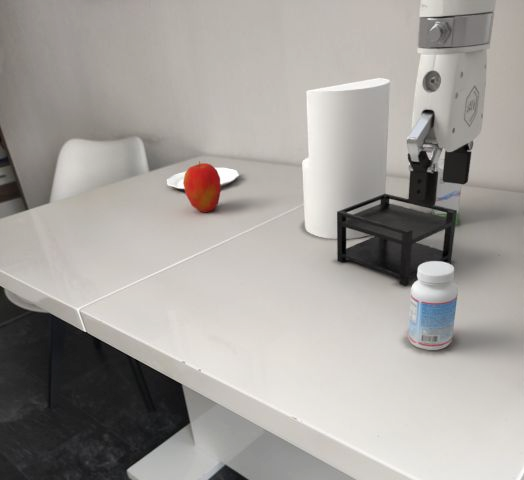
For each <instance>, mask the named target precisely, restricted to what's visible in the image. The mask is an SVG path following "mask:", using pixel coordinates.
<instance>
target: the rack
mask: <svg viewBox="0 0 524 480" xmlns="http://www.w3.org/2000/svg"><path fill="white" fill-rule="evenodd" d="M378 200H381V204H379V205H376V206H374V207H371V208H369V209H366V210H363V211H361V212H358V213H356V214H353V215H352V214H349V213H346V212H349V211H352V210H354V209H357V208H360V207H362V206H365V205H367V204H370V203H373V202H375V201H378ZM390 200H393V201H397V202H402V203H404V204H405V203H406V204H409V205H411V204H410V203H409V202H408V198H406V197H402V196H398V195H392V194H389V193H385V194H383V195H380V196H377V197H375V198H372V199H369V200H367V201H364V202H361V203H359V204H356V205H353V206H351V207H348V208H345V209H343V210H340V211H337V239H336V243H337V244H336V247H337V248H336V249H337V251H336V255H337V257H336V258H337V262H339V263H345V262H347V260H349V261H352V262H355V263H357V264H360V265H362V266H366V267H369V268H371V269H374V270H377V271H379V272H383V273H385V274H388V275H390V276H393V277H397V278H399V283H398V284H399V285H400V286H403V287H406V286H408V285H410V278H411V277H413V276H417V272H418V267H419V265H421V264H422V263H425V262H430V261H440V262H446V263H449V264H450V263H452V259H453V248H454V240H455V232H456V225H455V223H456V214H457V210H453V209H449V208H445V207H440V206H436V205H434V206H432V207H428V206H421V205H416V206H417V207H421V208H426V209H430V210H432V209H434V210H438V211H442V212H446V213H447V216H446V217H442V216H438V215H434V214H432V213H429V212H425V211H422V210H417V209H414V208H410V207H405V206H401V205H397V204H393V203H390ZM412 205H413V206H415V205H414V204H412ZM346 228H349V229H353V230H356V231H359V232H362V233H366V234H369V235H368V236H373V237H370V238H368V239H365V240H362V241H361V242H358V243H356V244H354V245H351V246H349V247H347V239H346ZM441 231H444V237H443V245H442V246H443V247H442V249H439V248H436V247H433V246H429V245H426V244H422V243H419V242H420V241H422V240H424V239H426V238H428V237H431V236H433V235H435V234H438V233H440V232H441Z"/></svg>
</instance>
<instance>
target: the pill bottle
mask: <svg viewBox="0 0 524 480" xmlns="http://www.w3.org/2000/svg"><path fill="white" fill-rule="evenodd" d="M416 277H417V280H416V281H414V283H412V285H411V289H410V299H409V301H410V303H409V314H408V315H409V317H408V332H407V335H408V336H407V337H408V341H409V342H410V344H411V345H413V346H414V347H416V348H419V349H421V350H426V351H437V350H442V349H444V348H447V347H448V346H449V345H450V344H451V343H452V341H453V336H454V329H455V328H454V327H455V319H456V310H457V301H458V293H459V290H458V286H457V284H456V283H455V282H454V278H455V267H454V266H453V265H452V264H450V263H446V262H442V261H441V262H440V261H430V262H425V263H422V264H421V265H419V267H418V272H417V274H416Z"/></svg>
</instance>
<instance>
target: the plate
mask: <svg viewBox="0 0 524 480" xmlns="http://www.w3.org/2000/svg"><path fill="white" fill-rule="evenodd" d="M214 168H215V169H216V170H217V172H218V174H219V176H220V186H221V187H224V186H226V185H228V184H230V183H232V182H234V181H235V180H236V179H237V178H239V177H240V173H239V172H238V170H237V169H232V168H228V167H214ZM186 171H187V170H186ZM186 171H182V172H178V173H176V174H172V176H170V177H168V178H167V179H166V185H167V186H168V187H171V188H175V189H178V190H181V191H185V188H184V184H183V182H184V176H185V173H186Z"/></svg>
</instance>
